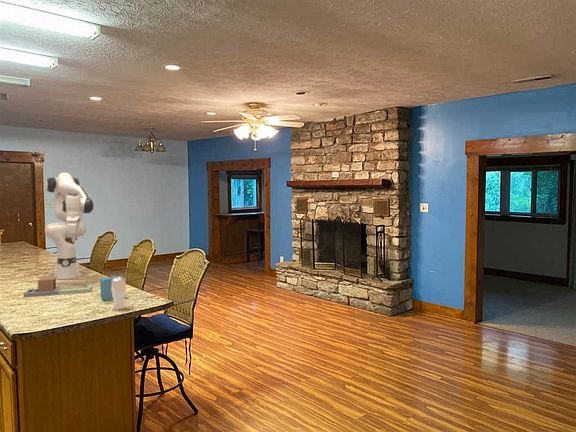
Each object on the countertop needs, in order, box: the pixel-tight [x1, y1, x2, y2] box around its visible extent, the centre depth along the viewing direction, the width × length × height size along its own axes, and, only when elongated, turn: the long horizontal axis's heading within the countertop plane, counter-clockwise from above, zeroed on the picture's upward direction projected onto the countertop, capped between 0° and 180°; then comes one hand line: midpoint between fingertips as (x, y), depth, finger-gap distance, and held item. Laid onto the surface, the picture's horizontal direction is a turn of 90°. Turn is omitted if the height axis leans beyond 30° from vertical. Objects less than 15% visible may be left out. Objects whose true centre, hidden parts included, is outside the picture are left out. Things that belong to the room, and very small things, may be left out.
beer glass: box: [111, 277, 127, 310], centre depth 230 cm, size 7×7×15 cm
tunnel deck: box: [23, 276, 93, 298], centre depth 268 cm, size 13×35×9 cm, turn 108°
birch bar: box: [56, 279, 88, 290], centre depth 270 cm, size 4×16×4 cm, turn 108°
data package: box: [99, 275, 124, 302], centre depth 250 cm, size 12×4×12 cm, turn 128°
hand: (74, 240), depth 282 cm, fingers open, 8 cm apart
